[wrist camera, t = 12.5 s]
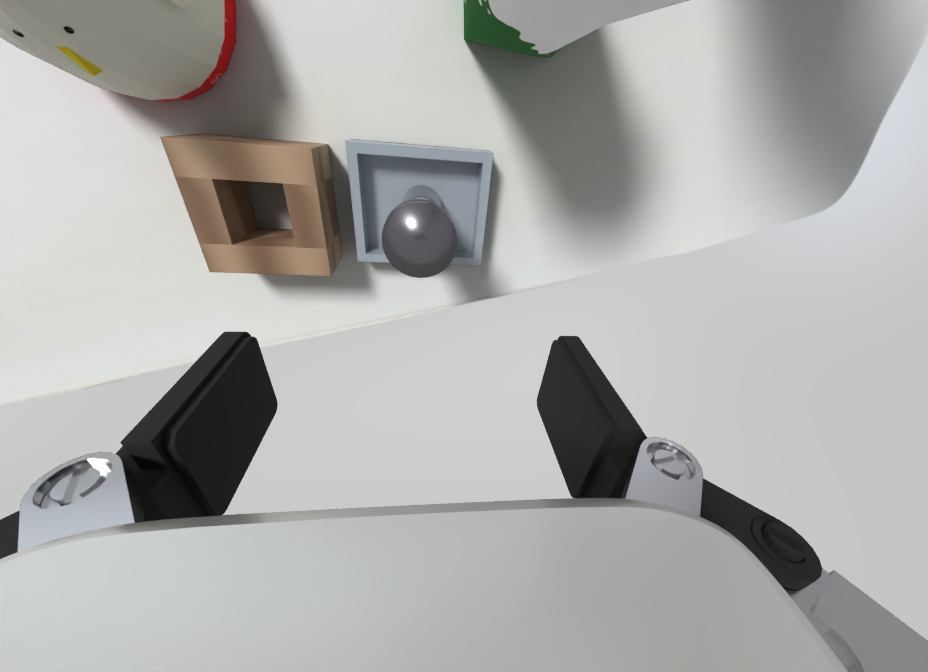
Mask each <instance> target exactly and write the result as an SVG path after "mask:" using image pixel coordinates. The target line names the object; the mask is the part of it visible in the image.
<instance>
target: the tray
mask: <svg viewBox="0 0 928 672" xmlns="http://www.w3.org/2000/svg"><path fill="white" fill-rule="evenodd" d="M345 142H346V152H347V161H348V171H349V181H350V190H351V200H352V210H353V219H354V229H355V239H356V248H357V258H358V261H359V262H386V263H390V262H389V260H388V259H387V257H386V255H385V253H384V251H383V247H382V241H381V238H382V230H383V227H384V224H385V221H386V219H387V217H388V215H389V214H390V212H391V211H392V210H393V209H394V208H395V207H396V206H398V205H399V204H401V203H402V202H403V199H404V196H405V194H406V192H407V191H408V190H409V189H410V188H412V187H413V186H416V185H426V186H429V187H431V188H432V189H434V190H435V191H436V192H437V194H438V195H439V198H440V201H441V206H442V208H443V209H444V210H445V211H446V212H447V213H448V214H449V216H450V217H451V219H452V221H453V223H454V226H455V230H456V234H457V250H456V253H455V256H454V258H453V260H452V262H451V263H450V264H449V265H464V266H481V260H482V251H483V242H484V233H485V224H486V215H487V206H488V197H489V188H490V179H491V170H492V161H493V153H492V152H490V151H488V150H475V149H463V148H451V147H439V146H427V145H415V144H402V143H390V142H378V141H366V140H354V139H351V140H347V141H345Z"/></svg>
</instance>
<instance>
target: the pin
mask: <svg viewBox="0 0 928 672" xmlns="http://www.w3.org/2000/svg"><path fill="white" fill-rule="evenodd" d="M381 241H382V247H383V251H384V253H385V255H386V257H387V259H388V260H389V262H390V263H391V264H392V265H393V266H394V267H395V268H396V269H397V270H399V271H400V272H402V273H404V274H406V275H409V276H412V277H419V278H423V277H430V276H434V275H436V274H438V273H440V272H442V271H443V270H444V269H445V268H446V267H448V266H449V264H450V263H451V262H452V260H453V258H454V256H455V253H456V250H457V234H456V230H455V226H454V223H453V221H452V219H451V217H450V216H449V214H448V213H447V212H446V211H445V210H444V209H443V208H442V206H441V201H440V198H439V195H438V194H437V192H436V191H435V190H434V189H432V188H431V187H429V186H426V185H416V186H413V187H412V188H410V189H409V190H408V191H407V192H406V194H405V196H404V199H403V202H402V203H401V204H399V205H398V206H396V207H395V208H394V209H393V210H392V211H391V212H390V214H389V215H388V217H387V219H386V221H385V224H384V227H383V230H382V238H381Z"/></svg>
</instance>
